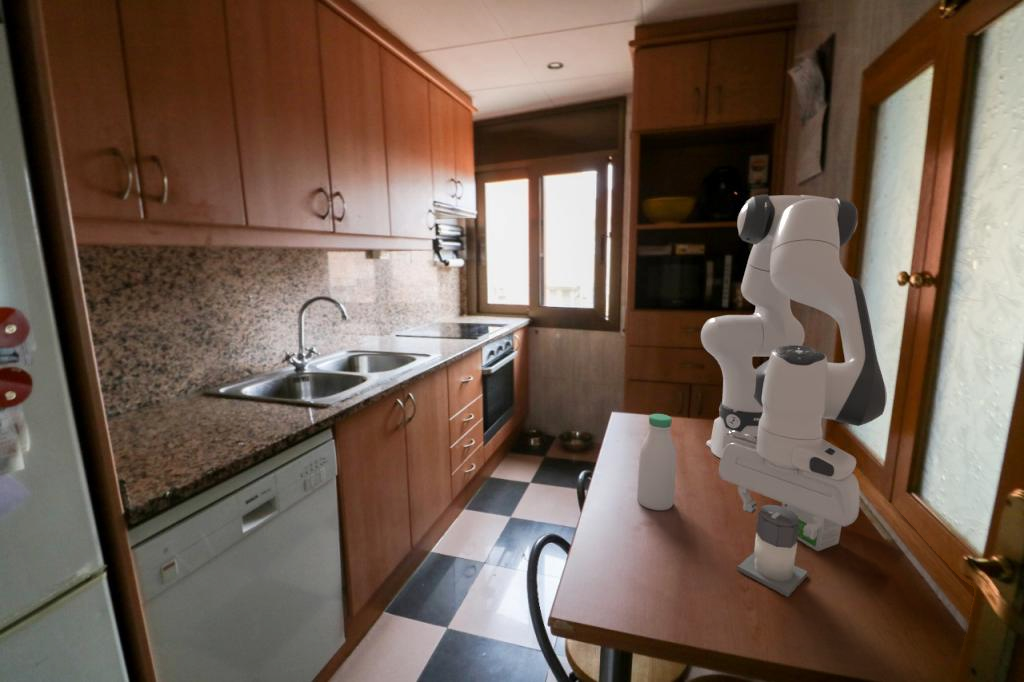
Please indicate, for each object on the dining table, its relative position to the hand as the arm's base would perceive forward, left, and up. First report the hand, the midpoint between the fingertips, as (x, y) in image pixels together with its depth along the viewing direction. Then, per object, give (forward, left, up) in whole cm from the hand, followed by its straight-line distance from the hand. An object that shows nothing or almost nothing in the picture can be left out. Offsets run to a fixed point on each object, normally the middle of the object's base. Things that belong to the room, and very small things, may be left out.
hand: (778, 523), depth 75 cm
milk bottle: (-4, -26, -10) cm, 28 cm away
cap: (0, 0, -3) cm, 3 cm away
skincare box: (-17, 0, -10) cm, 20 cm away
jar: (0, 0, -9) cm, 9 cm away
